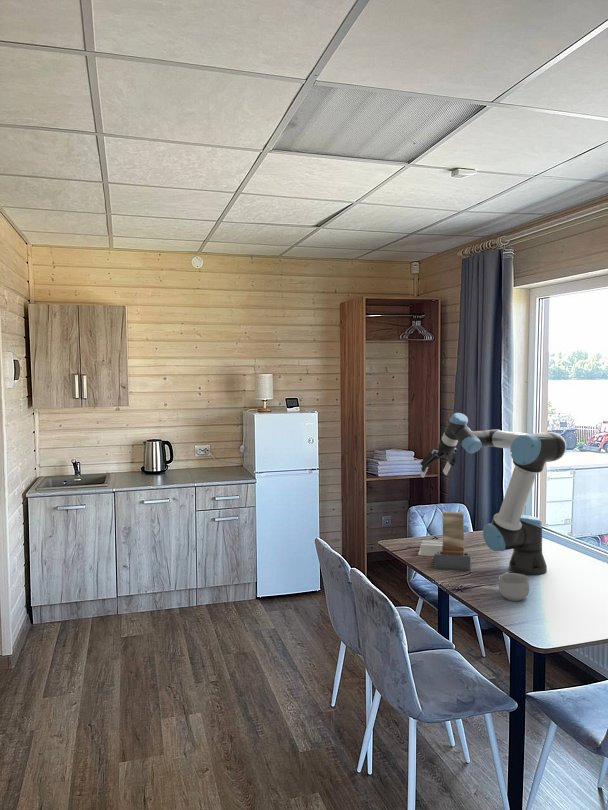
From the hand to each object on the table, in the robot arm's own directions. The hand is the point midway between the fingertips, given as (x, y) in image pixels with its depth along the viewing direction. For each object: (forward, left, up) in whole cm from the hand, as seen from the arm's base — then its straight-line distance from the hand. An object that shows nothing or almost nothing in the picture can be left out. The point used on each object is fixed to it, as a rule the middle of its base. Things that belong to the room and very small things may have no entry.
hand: (433, 474), depth 296 cm
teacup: (-53, +46, -36) cm, 79 cm away
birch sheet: (-19, +22, -34) cm, 45 cm away
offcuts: (-22, +28, -34) cm, 49 cm away
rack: (-21, +26, -36) cm, 49 cm away
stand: (-6, +14, -36) cm, 39 cm away
